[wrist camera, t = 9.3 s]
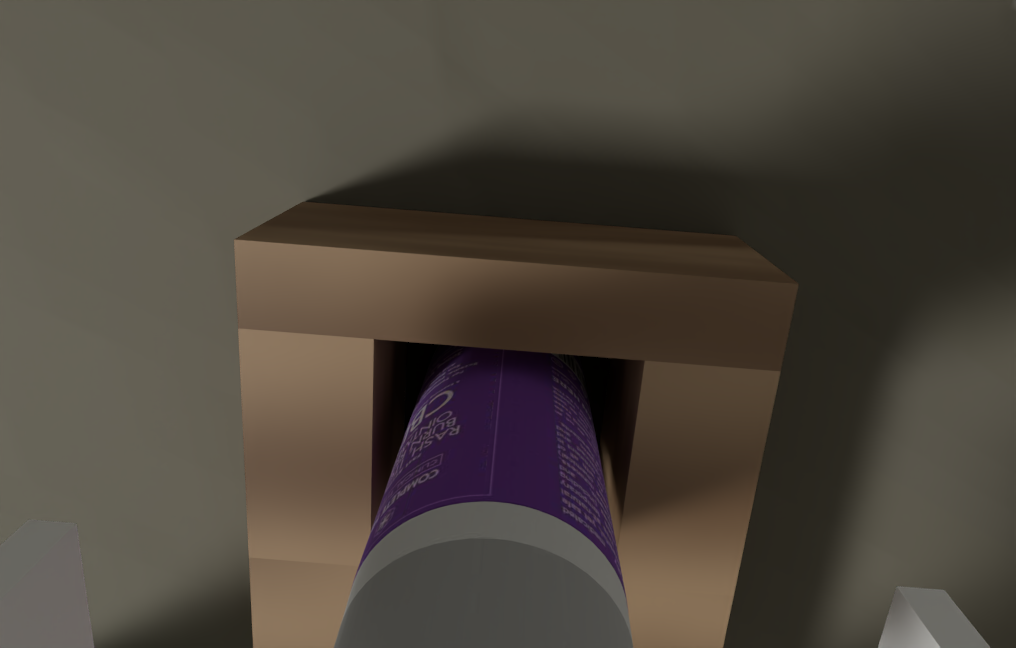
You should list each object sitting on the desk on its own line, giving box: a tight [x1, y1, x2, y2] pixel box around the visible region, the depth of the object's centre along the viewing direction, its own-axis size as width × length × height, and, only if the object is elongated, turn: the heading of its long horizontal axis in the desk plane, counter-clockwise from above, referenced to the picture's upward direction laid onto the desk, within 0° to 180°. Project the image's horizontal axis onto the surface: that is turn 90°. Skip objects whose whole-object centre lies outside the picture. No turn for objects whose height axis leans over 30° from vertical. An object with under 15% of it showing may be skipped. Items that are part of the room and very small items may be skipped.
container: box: [334, 344, 633, 648], centre depth 15 cm, size 5×5×15 cm
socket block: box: [234, 202, 799, 648], centre depth 20 cm, size 16×12×5 cm
